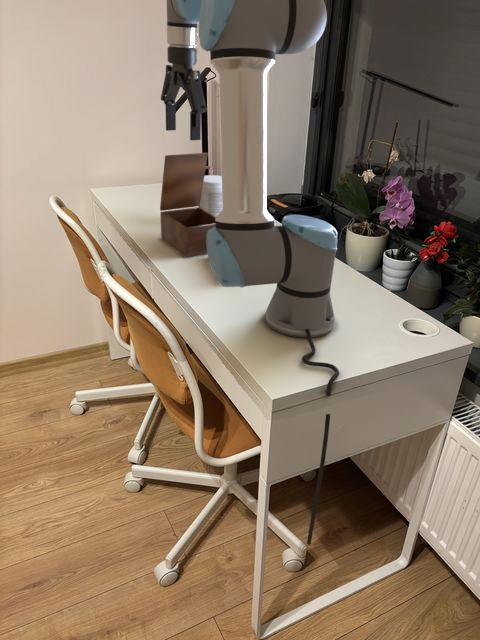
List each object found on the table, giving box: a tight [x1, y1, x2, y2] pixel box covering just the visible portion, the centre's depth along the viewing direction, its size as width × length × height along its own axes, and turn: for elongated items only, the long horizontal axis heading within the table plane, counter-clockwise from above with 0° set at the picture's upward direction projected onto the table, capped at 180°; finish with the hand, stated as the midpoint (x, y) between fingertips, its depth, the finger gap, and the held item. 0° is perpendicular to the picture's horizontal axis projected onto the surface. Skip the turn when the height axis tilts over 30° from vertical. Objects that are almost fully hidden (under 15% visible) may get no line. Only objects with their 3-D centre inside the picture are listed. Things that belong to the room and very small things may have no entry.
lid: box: [159, 152, 209, 212], centre depth 155 cm, size 16×13×1 cm
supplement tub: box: [198, 174, 223, 217], centre depth 172 cm, size 10×10×15 cm
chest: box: [160, 206, 216, 258], centre depth 158 cm, size 16×13×8 cm
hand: (182, 135), depth 151 cm, fingers open, 13 cm apart
